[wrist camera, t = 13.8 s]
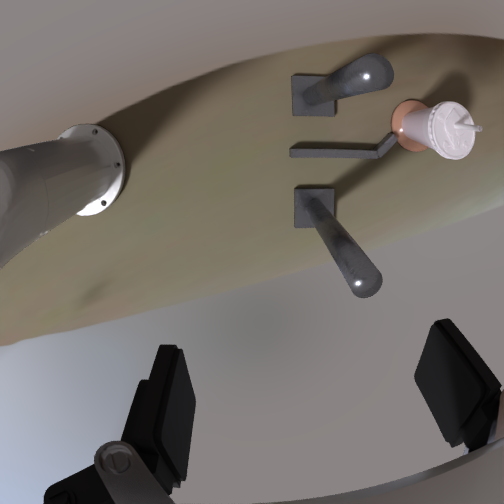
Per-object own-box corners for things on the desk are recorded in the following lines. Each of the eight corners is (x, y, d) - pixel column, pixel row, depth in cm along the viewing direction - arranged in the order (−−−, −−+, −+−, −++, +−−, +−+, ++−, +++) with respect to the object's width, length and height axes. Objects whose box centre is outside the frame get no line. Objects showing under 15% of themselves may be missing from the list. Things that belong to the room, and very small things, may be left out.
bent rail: (289, 156, 36) (291, 157, 35) (288, 129, 35) (290, 129, 34) (392, 158, 36) (397, 160, 35) (393, 133, 35) (398, 134, 33)
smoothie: (429, 103, 32) (498, 104, 19) (433, 148, 35) (501, 167, 22) (389, 102, 33) (453, 98, 20) (394, 150, 35) (458, 168, 22)
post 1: (292, 115, 34) (339, 107, 16) (291, 76, 32) (334, 29, 14) (332, 116, 34) (412, 114, 16) (331, 78, 32) (408, 41, 14)
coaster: (390, 149, 36) (392, 149, 35) (390, 97, 33) (392, 97, 32) (433, 153, 36) (435, 153, 35) (433, 104, 33) (435, 104, 32)
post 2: (294, 226, 40) (330, 315, 22) (294, 188, 38) (335, 252, 20) (331, 224, 40) (392, 309, 21) (332, 187, 38) (403, 248, 19)
